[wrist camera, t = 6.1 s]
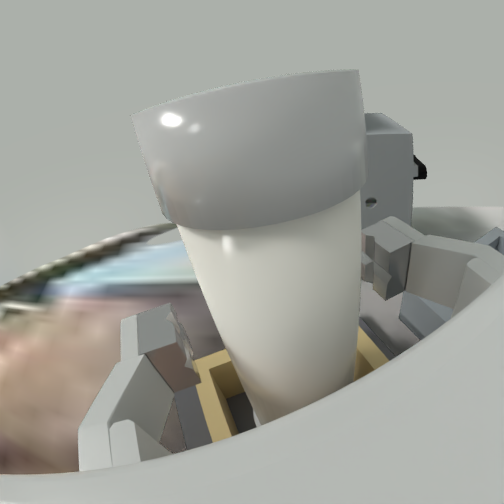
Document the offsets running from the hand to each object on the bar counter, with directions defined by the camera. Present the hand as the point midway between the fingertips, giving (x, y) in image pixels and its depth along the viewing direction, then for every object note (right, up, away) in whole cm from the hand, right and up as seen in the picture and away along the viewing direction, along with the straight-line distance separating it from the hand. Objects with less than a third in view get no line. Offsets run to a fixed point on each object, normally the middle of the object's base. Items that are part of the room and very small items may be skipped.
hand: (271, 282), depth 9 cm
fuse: (+2, -7, +4) cm, 9 cm away
